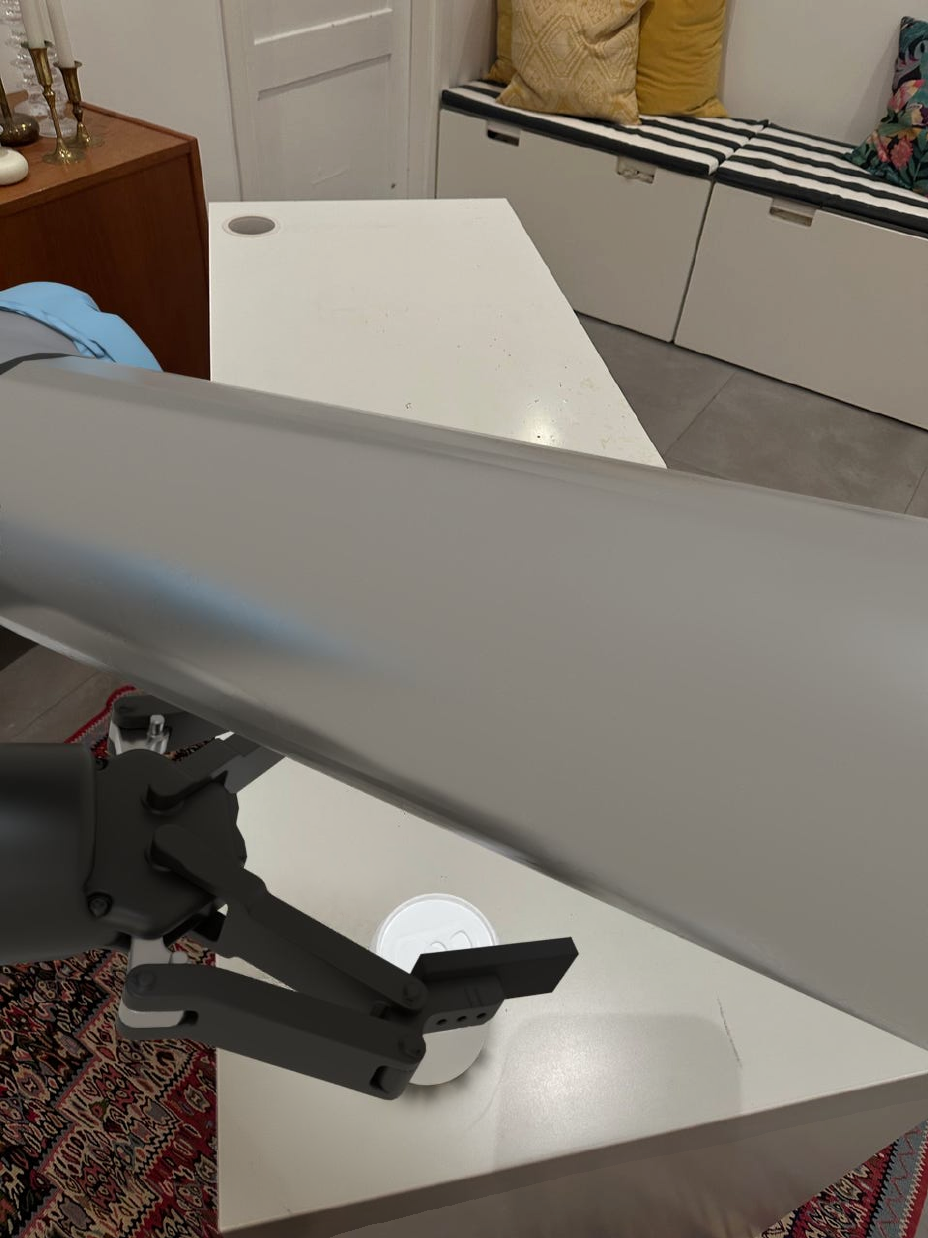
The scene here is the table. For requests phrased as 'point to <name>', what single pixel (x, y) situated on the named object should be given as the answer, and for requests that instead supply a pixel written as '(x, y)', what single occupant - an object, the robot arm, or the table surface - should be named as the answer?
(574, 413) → the table surface
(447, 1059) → the beverage can
